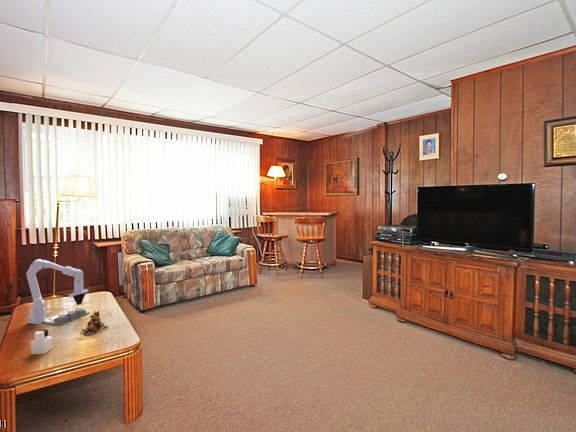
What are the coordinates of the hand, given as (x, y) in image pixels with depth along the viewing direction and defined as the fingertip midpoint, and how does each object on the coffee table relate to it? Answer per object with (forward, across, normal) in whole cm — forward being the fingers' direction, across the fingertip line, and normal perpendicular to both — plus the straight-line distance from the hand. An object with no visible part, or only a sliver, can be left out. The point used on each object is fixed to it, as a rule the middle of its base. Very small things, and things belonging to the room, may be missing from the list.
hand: (79, 304), depth 232 cm
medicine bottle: (+9, -50, -30) cm, 59 cm away
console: (+8, -7, +5) cm, 12 cm away
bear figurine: (+9, -19, -34) cm, 40 cm away
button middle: (+5, -7, 0) cm, 9 cm away
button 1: (+5, -14, 0) cm, 15 cm away
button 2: (+5, 0, 0) cm, 5 cm away
